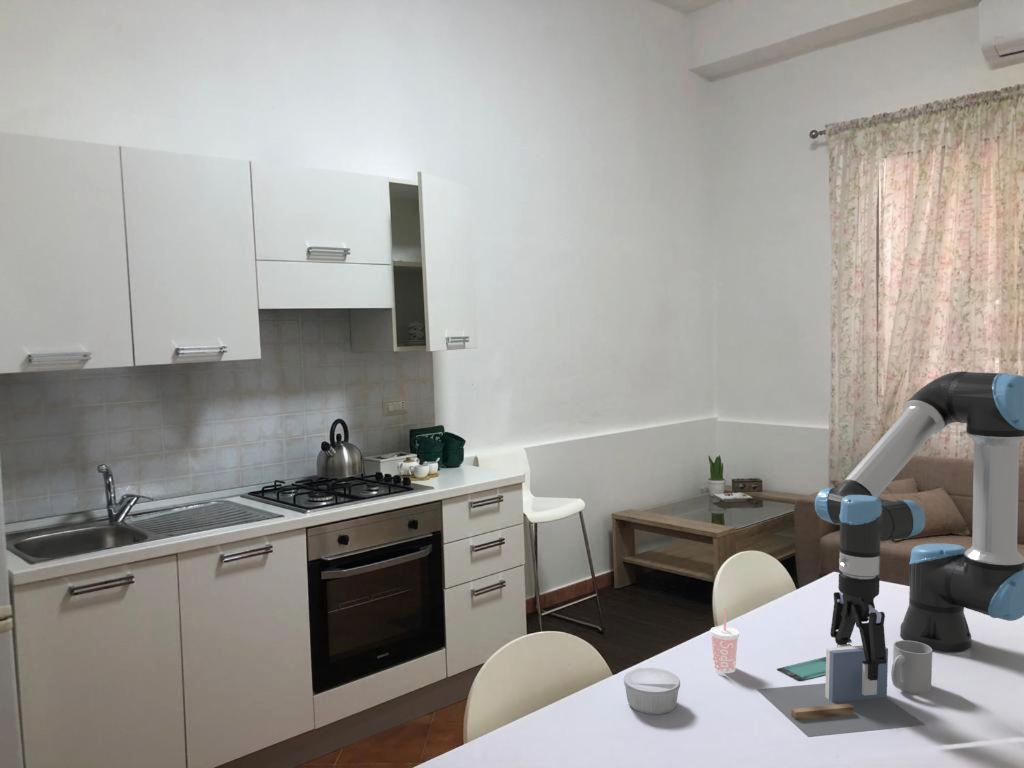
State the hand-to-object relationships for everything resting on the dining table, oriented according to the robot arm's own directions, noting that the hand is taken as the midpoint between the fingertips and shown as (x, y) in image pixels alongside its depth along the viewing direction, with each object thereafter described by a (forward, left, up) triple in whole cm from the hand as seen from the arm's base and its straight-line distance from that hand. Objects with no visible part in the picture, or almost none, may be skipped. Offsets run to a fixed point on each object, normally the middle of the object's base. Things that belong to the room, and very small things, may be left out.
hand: (856, 684), depth 165 cm
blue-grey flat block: (0, 0, -3) cm, 3 cm away
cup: (-13, -2, -3) cm, 14 cm away
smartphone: (+1, -14, -4) cm, 15 cm away
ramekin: (+41, -6, -4) cm, 42 cm away
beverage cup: (+20, -18, -3) cm, 27 cm away
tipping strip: (+11, +6, -3) cm, 13 cm away
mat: (+6, +3, -3) cm, 7 cm away
